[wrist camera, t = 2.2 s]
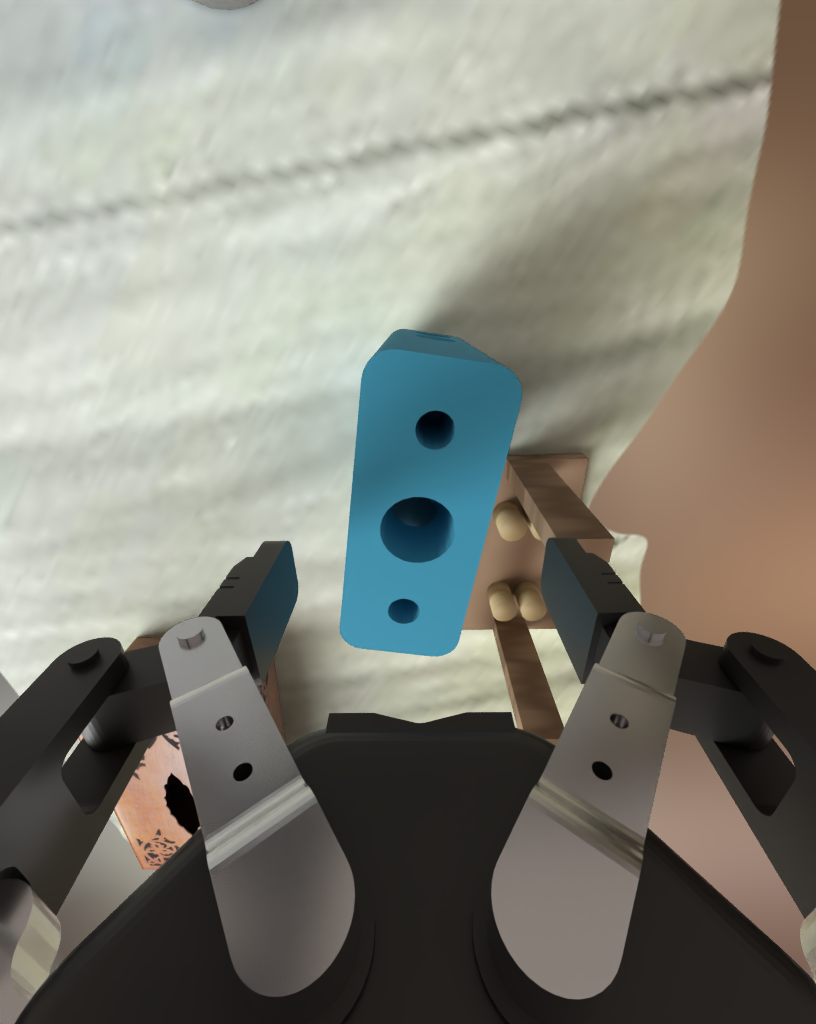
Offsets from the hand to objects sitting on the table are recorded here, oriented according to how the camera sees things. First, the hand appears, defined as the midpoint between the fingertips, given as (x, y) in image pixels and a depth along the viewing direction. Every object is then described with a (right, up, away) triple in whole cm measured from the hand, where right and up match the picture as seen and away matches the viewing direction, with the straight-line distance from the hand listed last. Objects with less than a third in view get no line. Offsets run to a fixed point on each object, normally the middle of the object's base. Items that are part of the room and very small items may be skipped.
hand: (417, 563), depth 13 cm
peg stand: (+10, -2, +25) cm, 27 cm away
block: (0, +10, +20) cm, 22 cm away
